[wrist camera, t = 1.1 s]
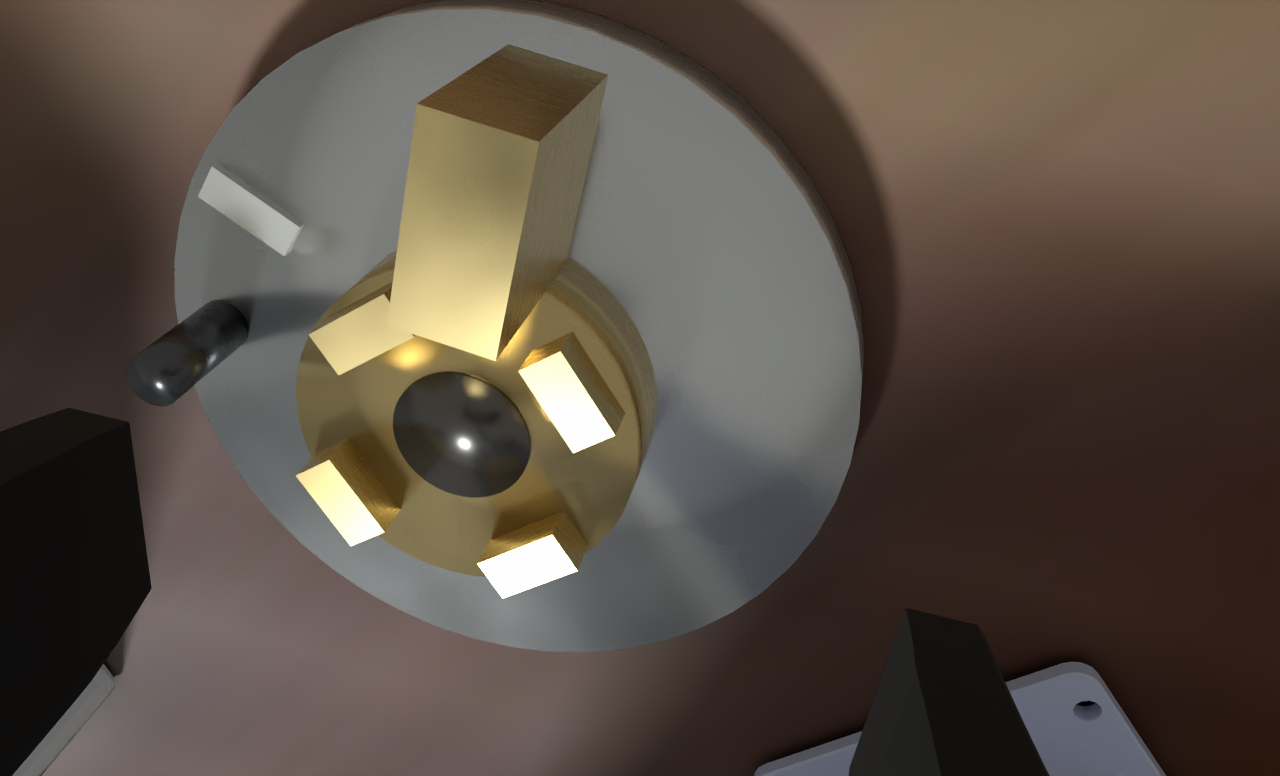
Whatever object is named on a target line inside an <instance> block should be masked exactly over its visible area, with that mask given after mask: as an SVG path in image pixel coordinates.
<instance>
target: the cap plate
mask: <svg viewBox="0 0 1280 776" xmlns="http://www.w3.org/2000/svg"><path fill="white" fill-rule="evenodd" d="M508 44H510V45H513V46H517V47H520V48H523V49H526V50H530V51H533V52H536V53H539V54H543V55H546V56H549V57H552V58H556V59H559V60H562V61H566V62H569V63H572V64H575V65H579V66H582V67H585V68H588V69H592V70H595V71H598V72H601V73H605V74H608V79H607V84H606V88H605V93H604V97H603V102H602V106H601V110H600V115H599V119H598V124H597V128H596V133H595V137H594V141H593V146H592V150H591V155H590V159H589V164H588V168H587V173H586V177H585V181H584V186H583V190H582V195H581V199H580V204H579V208H578V212H577V217H576V221H575V226H574V230H573V235H572V239H571V244H570V248H569V252H568V257H567V258H568V259H570V260H572V261H573V262H575V263H576V264H578V265H579V266H580V267H582V268H583V269H584V270H586V271H587V272H588V273H590V274H591V275H592V276H594V277H595V278H596V279H597V280H598V281H599V282H600V283H601V284H602V285H603V286H604V287H605V288H606V289H607V290H609V291H610V292H611V294H612V295H613V296H614V297H615V298H616V300H617V301H618V302H619V303H620V304H621V306H622V307H623V308H624V309H625V311H626V312H627V314H628V315H629V317H630V318H631V320H632V321H633V323H634V324H635V326H636V328H637V329H638V331H639V333H640V335H641V338H642V340H643V342H644V344H645V346H646V348H647V351H648V354H649V357H650V360H651V363H652V366H653V370H654V375H655V381H656V386H657V405H658V409H657V417H656V426H655V430H654V434H653V438H652V441H651V445H650V447H649V450H648V452H647V455H646V457H645V460H644V463H643V465H642V468H641V470H640V473H639V475H638V478H637V480H636V483H635V486H634V488H633V491H632V493H631V496H630V498H629V500H628V503H627V505H626V507H625V509H624V511H623V514H622V515H621V517H620V518H619V520H618V521H617V523H616V524H615V526H614V527H613V529H612V530H611V531H610V532H609V533H608V534H607V535H606V537H605V538H604V539H603V540H602V541H601V542H600V543H599V544H598V545H596V546H595V547H594V548H592V549H591V550H590V551H589V552H587V553H586V554H585V555H584V557H583V560H582V562H581V564H580V567H579V569H578V571H576V572H574V573H571V574H568V575H565V576H563V577H560V578H557V579H554V580H552V581H549V582H546V583H543V584H541V585H538V586H535V587H533V588H530V589H527V590H524V591H522V592H519V593H516V594H513V595H511V596H508V597H505V598H502V597H501V595H500V594H499V593H498V591H497V590H496V589H495V587H494V586H493V585H492V583H491V582H490V580H489V579H488V578H487V577H480V576H471V575H467V574H462V573H457V572H453V571H449V570H446V569H443V568H440V567H437V566H434V565H431V564H428V563H426V562H424V561H421V560H419V559H417V558H414V557H412V556H410V555H408V554H406V553H405V552H403V551H401V550H399V549H397V548H396V547H394V546H392V545H391V544H389V543H388V542H386V541H385V540H383V539H382V538H380V537H379V536H375V537H372V538H370V539H368V540H365V541H363V542H360V543H358V544H356V545H353V546H350V545H349V544H348V542H347V541H346V540H345V538H344V537H343V536H342V535H341V533H340V532H339V531H338V530H337V528H336V527H335V526H334V524H333V523H332V522H331V521H330V519H329V518H328V517H327V515H326V514H325V513H324V512H323V510H322V509H321V508H320V506H319V505H318V504H317V503H316V501H315V500H314V499H313V497H312V496H311V495H310V494H309V492H308V491H307V490H306V489H305V487H304V486H303V485H302V483H301V482H300V481H299V480H298V478H297V477H296V474H297V473H298V472H299V471H300V470H301V469H302V468H303V467H304V465H305V464H306V463H307V462H308V461H309V460H310V459H311V458H312V457H311V455H310V453H309V451H308V448H307V445H306V442H305V439H304V436H303V434H302V430H301V426H300V421H299V417H298V412H297V400H296V383H297V371H298V367H299V362H300V358H301V354H302V351H303V349H304V346H305V344H306V341H307V339H308V336H309V334H310V333H311V331H312V330H313V328H314V326H315V325H316V323H317V321H318V320H319V319H320V318H321V316H322V315H323V314H324V313H325V312H326V311H327V309H328V308H329V307H330V306H331V305H332V304H333V303H334V302H335V301H337V300H338V299H339V298H340V297H341V296H342V295H343V294H344V293H345V292H347V291H348V290H349V289H350V288H351V287H352V286H353V285H354V284H355V283H356V282H358V281H359V280H360V279H361V278H362V277H363V276H364V275H365V274H366V273H368V272H369V271H370V270H371V269H372V268H373V267H374V266H375V265H377V264H378V263H379V262H380V261H381V260H383V259H384V258H385V257H386V256H387V255H389V254H390V253H392V252H393V251H395V250H397V246H398V239H399V232H400V224H401V217H402V209H403V202H404V194H405V187H406V180H407V172H408V165H409V157H410V150H411V142H412V135H413V128H414V120H415V113H416V105H417V103H418V102H420V101H422V100H423V99H425V98H426V97H428V96H429V95H431V94H432V93H434V92H435V91H437V90H438V89H440V88H442V87H443V86H445V85H446V84H448V83H449V82H451V81H452V80H454V79H455V78H457V77H458V76H460V75H462V74H463V73H465V72H466V71H468V70H469V69H471V68H472V67H474V66H475V65H477V64H478V63H480V62H481V61H483V60H485V59H486V58H488V57H489V56H491V55H492V54H494V53H495V52H497V51H498V50H500V49H501V48H503V47H505V46H506V45H508ZM174 265H175V305H176V312H177V319H178V325H177V326H175V327H174V328H173V329H171V330H170V331H169V332H167V333H166V334H164V335H163V336H162V337H160V338H159V339H158V340H156V341H155V342H154V343H152V344H151V345H150V346H148V347H147V348H146V349H144V350H143V351H141V352H140V353H139V354H137V355H136V356H135V357H133V358H132V359H131V360H130V361H129V362H128V364H127V368H126V376H127V380H128V382H129V385H130V386H131V388H132V389H133V391H134V392H135V393H136V394H137V395H138V396H139V397H140V398H141V399H143V400H144V401H146V402H148V403H150V404H153V405H156V406H167V405H170V404H172V403H174V402H175V401H176V400H177V399H178V398H180V397H181V396H182V395H183V394H184V393H185V392H187V391H188V390H189V389H190V388H191V387H193V386H194V387H195V390H196V392H197V395H198V397H199V400H200V402H201V405H202V407H203V410H204V412H205V415H206V417H207V419H208V420H209V422H210V424H211V426H212V428H213V430H214V432H215V434H216V435H217V437H218V439H219V441H220V443H221V445H222V447H223V449H224V450H225V452H226V453H227V455H228V456H229V458H230V459H231V461H232V462H233V464H234V465H235V467H236V468H237V470H238V471H239V473H240V474H241V476H242V477H243V479H244V480H245V482H246V483H247V484H248V486H249V487H250V488H251V489H252V491H253V492H254V493H255V494H256V495H257V497H258V498H259V499H260V500H261V501H262V503H263V504H264V505H265V506H266V507H267V509H268V510H269V511H270V512H271V513H272V515H273V516H274V517H275V518H276V519H277V520H278V521H279V522H280V523H281V524H282V525H283V526H284V527H285V528H286V529H287V530H288V531H289V532H290V533H291V534H292V535H293V536H294V537H295V538H296V539H297V540H298V541H299V542H300V543H302V544H303V545H304V546H305V547H306V548H308V549H309V550H310V551H311V552H312V553H314V554H315V555H316V556H317V557H319V558H320V559H321V560H322V561H323V562H325V563H326V564H327V565H328V566H330V567H331V568H332V569H333V570H335V571H336V572H338V573H339V574H341V575H342V576H344V577H345V578H347V579H348V580H350V581H351V582H353V583H354V584H355V585H357V586H358V587H360V588H361V589H363V590H364V591H366V592H368V593H369V594H371V595H373V596H375V597H377V598H379V599H380V600H382V601H384V602H386V603H388V604H389V605H391V606H393V607H395V608H397V609H399V610H400V611H403V612H405V613H407V614H410V615H412V616H414V617H416V618H419V619H421V620H423V621H426V622H428V623H430V624H433V625H435V626H437V627H440V628H443V629H446V630H449V631H453V632H456V633H459V634H462V635H465V636H468V637H471V638H474V639H478V640H483V641H487V642H492V643H496V644H501V645H505V646H510V647H516V648H524V649H532V650H541V651H549V652H598V651H608V650H619V649H628V648H633V647H638V646H642V645H647V644H652V643H656V642H661V641H665V640H668V639H671V638H674V637H677V636H680V635H683V634H686V633H688V632H691V631H694V630H697V629H700V628H702V627H704V626H706V625H708V624H710V623H712V622H714V621H716V620H718V619H720V618H722V617H724V616H726V615H728V614H730V613H732V612H734V611H735V610H737V609H738V608H740V607H741V606H743V605H744V604H746V603H747V602H749V601H750V600H752V599H753V598H755V597H756V596H757V595H759V594H760V593H762V592H763V591H765V590H766V589H767V588H768V587H769V586H770V585H771V584H772V583H773V582H774V581H776V580H777V579H778V578H779V577H780V576H781V575H782V574H783V573H784V572H785V571H787V570H788V569H789V568H790V567H791V566H792V565H793V564H794V562H795V561H796V560H797V559H798V557H799V556H800V555H801V554H802V553H803V551H804V550H805V549H806V548H807V546H808V545H809V544H810V543H811V541H812V540H813V539H814V538H815V537H816V535H817V533H818V532H819V530H820V528H821V526H822V525H823V523H824V521H825V520H826V518H827V516H828V514H829V513H830V511H831V509H832V508H833V506H834V504H835V502H836V500H837V497H838V495H839V492H840V490H841V487H842V485H843V482H844V479H845V477H846V474H847V472H848V469H849V467H850V463H851V459H852V454H853V450H854V445H855V441H856V436H857V432H858V427H859V419H860V406H861V393H862V378H863V362H864V341H863V329H862V317H861V306H860V302H859V298H858V293H857V289H856V285H855V281H854V276H853V272H852V268H851V264H850V261H849V258H848V255H847V253H846V250H845V248H844V245H843V243H842V240H841V237H840V235H839V232H838V230H837V227H836V225H835V222H834V219H833V217H832V216H831V214H830V212H829V210H828V208H827V207H826V205H825V203H824V201H823V199H822V198H821V196H820V194H819V192H818V190H817V189H816V187H815V185H814V183H813V181H812V180H811V178H810V176H809V175H808V173H807V172H806V171H805V169H804V168H803V167H802V165H801V164H800V163H799V161H798V160H797V159H796V157H795V156H794V155H793V153H792V152H791V150H790V149H789V148H788V146H787V145H786V144H785V142H784V141H783V140H782V138H781V137H780V136H779V135H778V134H777V133H776V131H775V130H774V129H773V128H772V127H771V126H770V125H769V124H768V123H767V122H766V121H765V120H764V119H763V118H762V117H761V116H760V115H759V114H758V113H757V112H756V111H755V110H754V109H753V108H752V107H751V106H750V105H749V104H748V103H747V102H746V101H745V100H744V99H743V98H742V97H741V96H740V95H738V94H737V93H736V92H735V91H733V90H732V89H731V88H729V87H728V86H727V85H726V84H724V83H723V82H722V81H721V80H719V79H718V78H717V77H716V76H714V75H713V74H712V73H710V72H709V71H708V70H707V69H705V68H704V67H703V66H702V65H700V64H698V63H696V62H695V61H693V60H691V59H690V58H688V57H686V56H685V55H683V54H681V53H680V52H678V51H676V50H675V49H673V48H671V47H670V46H668V45H666V44H665V43H663V42H661V41H660V40H658V39H656V38H654V37H651V36H649V35H647V34H645V33H642V32H640V31H638V30H635V29H633V28H631V27H628V26H626V25H624V24H621V23H619V22H617V21H614V20H612V19H610V18H607V17H603V16H600V15H596V14H592V13H589V12H585V11H582V10H578V9H574V8H571V7H567V6H564V5H560V4H555V3H547V2H540V1H532V0H442V1H435V2H429V3H423V4H416V5H411V6H408V7H405V8H402V9H399V10H396V11H393V12H389V13H386V14H383V15H380V16H377V17H374V18H371V19H368V20H366V21H363V22H361V23H359V24H357V25H354V26H352V27H350V28H347V29H345V30H343V31H341V32H338V33H336V34H334V35H332V36H330V37H328V38H326V39H324V40H322V41H320V42H318V43H316V44H315V45H313V46H311V47H309V48H307V49H305V50H303V51H301V52H299V53H297V54H296V55H294V56H293V57H291V58H290V59H289V60H287V61H286V62H285V63H283V64H282V65H281V66H279V67H278V68H276V69H275V70H274V71H272V72H271V73H270V74H268V75H267V76H266V77H264V78H263V79H262V80H261V81H260V82H259V83H258V84H257V85H256V86H255V87H254V88H253V89H252V90H251V91H250V92H249V93H248V94H247V95H246V96H245V97H244V98H243V99H242V100H241V101H240V102H239V103H238V104H237V105H236V106H235V107H234V108H233V109H232V111H231V112H230V114H229V115H228V116H227V118H226V119H225V121H224V122H223V124H222V125H221V127H220V128H219V129H218V131H217V132H216V134H215V135H214V137H213V138H212V140H211V141H210V142H209V144H208V146H207V148H206V150H205V152H204V155H203V157H202V159H201V161H200V163H199V165H198V167H197V169H196V171H195V174H194V176H193V178H192V180H191V183H190V186H189V190H188V193H187V197H186V200H185V203H184V207H183V210H182V214H181V217H180V222H179V229H178V237H177V244H176V251H175V259H174Z"/></svg>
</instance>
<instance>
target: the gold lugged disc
mask: <svg viewBox="0 0 1280 776" xmlns="http://www.w3.org/2000/svg"><path fill="white" fill-rule="evenodd" d="M607 79H608V74H605V73H601V72H598V71H595V70H592V69H588V68H585V67H582V66H579V65H575V64H572V63H569V62H566V61H562V60H559V59H556V58H552V57H549V56H546V55H543V54H539V53H536V52H533V51H530V50H526V49H523V48H520V47H517V46H513V45H510V44H508V45H506V46H505V47H503V48H501V49H500V50H498V51H497V52H495V53H494V54H492V55H491V56H489V57H488V58H486V59H485V60H483V61H481V62H480V63H478V64H477V65H475V66H474V67H472V68H471V69H469V70H468V71H466V72H465V73H463V74H462V75H460V76H458V77H457V78H455V79H454V80H452V81H451V82H449V83H448V84H446V85H445V86H443V87H442V88H440V89H438V90H437V91H435V92H434V93H432V94H431V95H429V96H428V97H426V98H425V99H423V100H422V101H420V102H418V103H417V105H416V113H415V120H414V128H413V135H412V142H411V150H410V157H409V165H408V172H407V180H406V187H405V194H404V202H403V209H402V217H401V224H400V232H399V239H398V246H397V250H395V251H393V252H392V253H390V254H389V255H387V256H386V257H385V258H384V259H383V260H381V261H380V262H379V263H378V264H377V265H375V266H374V267H373V268H372V269H371V270H370V271H369V272H368V273H366V274H365V275H364V276H363V277H362V278H361V279H360V280H359V281H358V282H356V283H355V284H354V285H353V286H352V287H351V288H350V289H349V290H348V291H347V292H345V293H344V294H343V295H342V296H341V297H340V298H339V299H338V300H337V301H335V302H334V303H333V304H332V305H331V306H330V307H329V308H328V309H327V311H326V312H325V313H324V314H323V315H322V316H321V318H320V319H319V320H318V321H317V323H316V325H315V326H314V328H313V330H312V331H311V333H310V334H309V336H308V339H307V341H306V344H305V346H304V349H303V351H302V354H301V358H300V362H299V367H298V371H297V383H296V400H297V412H298V417H299V421H300V426H301V430H302V434H303V436H304V439H305V442H306V445H307V448H308V451H309V453H310V455H311V457H312V458H311V459H310V460H309V461H308V462H307V463H306V464H305V465H304V467H303V468H302V469H301V470H300V471H299V472H298V473H297V474H296V477H297V478H298V480H299V481H300V482H301V483H302V485H303V486H304V487H305V489H306V490H307V491H308V492H309V494H310V495H311V496H312V497H313V499H314V500H315V501H316V503H317V504H318V505H319V506H320V508H321V509H322V510H323V512H324V513H325V514H326V515H327V517H328V518H329V519H330V521H331V522H332V523H333V524H334V526H335V527H336V528H337V530H338V531H339V532H340V533H341V535H342V536H343V537H344V538H345V540H346V541H347V542H348V544H349V545H350V546H353V545H356V544H358V543H360V542H363V541H365V540H368V539H370V538H372V537H375V536H379V537H380V538H382V539H383V540H385V541H386V542H388V543H389V544H391V545H392V546H394V547H396V548H397V549H399V550H401V551H403V552H405V553H406V554H408V555H410V556H412V557H414V558H417V559H419V560H421V561H424V562H426V563H428V564H431V565H434V566H437V567H440V568H443V569H446V570H449V571H453V572H457V573H462V574H467V575H471V576H480V577H487V578H488V579H489V580H490V582H491V583H492V585H493V586H494V587H495V589H496V590H497V591H498V593H499V594H500V595H501V597H502V598H505V597H508V596H511V595H513V594H516V593H519V592H522V591H524V590H527V589H530V588H533V587H535V586H538V585H541V584H543V583H546V582H549V581H552V580H554V579H557V578H560V577H563V576H565V575H568V574H571V573H574V572H576V571H578V569H579V567H580V564H581V562H582V560H583V557H584V555H585V554H586V553H587V552H589V551H590V550H591V549H592V548H594V547H595V546H596V545H598V544H599V543H600V542H601V541H602V540H603V539H604V538H605V537H606V535H607V534H608V533H609V532H610V531H611V530H612V529H613V527H614V526H615V524H616V523H617V521H618V520H619V518H620V517H621V515H622V514H623V511H624V509H625V507H626V505H627V503H628V500H629V498H630V496H631V493H632V491H633V488H634V486H635V483H636V480H637V478H638V475H639V473H640V470H641V468H642V465H643V463H644V460H645V457H646V455H647V452H648V450H649V447H650V445H651V441H652V438H653V434H654V430H655V426H656V417H657V409H658V405H657V386H656V381H655V375H654V370H653V366H652V363H651V360H650V357H649V354H648V351H647V348H646V346H645V344H644V342H643V340H642V338H641V335H640V333H639V331H638V329H637V328H636V326H635V324H634V323H633V321H632V320H631V318H630V317H629V315H628V314H627V312H626V311H625V309H624V308H623V307H622V306H621V304H620V303H619V302H618V301H617V300H616V298H615V297H614V296H613V295H612V294H611V292H610V291H609V290H607V289H606V288H605V287H604V286H603V285H602V284H601V283H600V282H599V281H598V280H597V279H596V278H595V277H594V276H592V275H591V274H590V273H588V272H587V271H586V270H584V269H583V268H582V267H580V266H579V265H578V264H576V263H575V262H573V261H572V260H570V259H568V258H567V257H568V252H569V248H570V244H571V239H572V235H573V230H574V226H575V221H576V217H577V212H578V208H579V204H580V199H581V195H582V190H583V186H584V181H585V177H586V173H587V168H588V164H589V159H590V155H591V150H592V146H593V141H594V137H595V133H596V128H597V124H598V119H599V115H600V110H601V106H602V102H603V97H604V93H605V88H606V84H607Z"/></svg>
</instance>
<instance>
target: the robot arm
mask: <svg viewBox="0 0 1280 776" xmlns="http://www.w3.org/2000/svg"><path fill="white" fill-rule="evenodd" d="M150 590H151V582H150V574H149V567H148V560H147V552H146V545H145V537H144V530H143V522H142V515H141V507H140V500H139V492H138V485H137V477H136V470H135V462H134V455H133V448H132V440H131V433H130V425H129V422H126V421H121V420H117V419H113V418H109V417H105V416H101V415H96V414H92V413H88V412H84V411H80V410H75V409H71V408H67V409H64V410H61V411H58V412H55V413H52V414H49V415H45V416H42V417H39V418H37V419H34V420H31V421H28V422H25V423H23V424H20V425H17V426H15V427H12V428H9V429H7V430H4V431H1V432H0V776H12V775H13V774H14V773H15V772H16V771H17V769H18V768H19V767H20V766H21V765H22V764H23V762H24V761H25V760H26V759H27V758H28V757H29V755H30V754H31V753H32V752H33V751H34V750H35V748H36V747H37V746H38V745H39V744H40V742H41V741H42V740H43V739H44V738H45V736H46V735H47V734H48V733H49V732H50V731H51V729H52V728H53V727H54V726H55V725H56V723H57V722H58V721H59V720H60V719H61V717H62V716H63V715H64V714H65V713H66V711H67V710H68V709H69V708H70V707H71V706H72V704H73V703H74V702H75V701H76V699H77V698H78V697H79V696H80V695H81V693H82V692H83V691H84V690H85V688H86V687H87V686H88V685H89V684H90V682H91V681H92V680H93V678H94V677H95V675H96V674H97V672H98V671H99V669H100V668H101V666H102V665H103V663H104V662H105V661H106V659H107V658H108V656H109V655H110V653H111V652H112V650H113V649H114V647H115V646H116V644H117V643H118V641H119V640H120V638H121V637H122V635H123V633H124V632H125V630H126V629H127V627H128V625H129V624H130V622H131V621H132V619H133V617H134V616H135V614H136V612H137V611H138V609H139V608H140V606H141V604H142V603H143V601H144V600H145V598H146V596H147V595H148V593H149V592H150ZM1081 701H1092V702H1096V703H1095V704H1093V705H1091V706H1080V705H1077V704H1078V703H1079V702H1081ZM754 776H1166V775H1165V773H1164V772H1163V770H1162V769H1161V767H1160V766H1159V764H1158V763H1157V761H1156V760H1155V758H1154V757H1153V755H1152V754H1151V752H1150V751H1149V749H1148V748H1147V746H1146V745H1145V743H1144V742H1143V740H1142V739H1141V737H1140V736H1139V734H1138V733H1137V731H1136V730H1135V728H1134V727H1133V725H1132V724H1131V722H1130V721H1129V719H1128V717H1127V716H1126V714H1125V713H1124V711H1123V710H1122V708H1121V707H1120V705H1119V704H1118V702H1117V701H1116V699H1115V698H1114V696H1113V695H1112V693H1111V692H1110V690H1109V689H1108V687H1107V686H1106V684H1105V683H1104V681H1103V680H1102V678H1101V677H1100V675H1099V674H1098V672H1097V671H1096V670H1095V669H1094V668H1092V667H1091V666H1089V665H1087V664H1084V663H1081V662H1066V663H1061V664H1058V665H1055V666H1052V667H1049V668H1047V669H1044V670H1041V671H1038V672H1035V673H1032V674H1029V675H1026V676H1023V677H1020V678H1017V679H1014V680H1011V681H1008V682H1005V680H1004V678H1003V676H1002V674H1001V671H1000V669H999V667H998V665H997V662H996V660H995V658H994V656H993V653H992V651H991V649H990V647H989V644H988V642H987V640H986V638H985V636H984V635H983V633H982V631H981V630H980V628H979V627H978V625H974V624H970V623H966V622H962V621H958V620H953V619H949V618H945V617H941V616H937V615H932V614H928V613H924V612H920V611H916V610H912V609H907V608H906V610H905V612H904V615H903V618H902V621H901V624H900V627H899V629H898V632H897V635H896V638H895V641H894V643H893V646H892V649H891V652H890V655H889V657H888V660H887V663H886V666H885V669H884V672H883V674H882V677H881V680H880V683H879V686H878V688H877V691H876V694H875V697H874V700H873V702H872V705H871V708H870V711H869V714H868V717H867V719H866V722H865V725H864V728H863V731H861V732H858V733H855V734H852V735H849V736H846V737H843V738H840V739H837V740H834V741H831V742H828V743H825V744H822V745H819V746H816V747H813V748H810V749H808V750H805V751H802V752H799V753H796V754H793V755H790V756H787V757H784V758H781V759H778V760H775V761H772V762H769V763H766V764H764V765H762V766H760V767H758V769H757V770H756V772H755V775H754Z"/></svg>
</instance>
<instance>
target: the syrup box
mask: <svg viewBox="0 0 1280 776" xmlns="http://www.w3.org/2000/svg"><path fill="white" fill-rule="evenodd" d="M114 687H115V680H114V678H113V676H112V674H111V673H110V671H109V670H108V669H107V667H106V666H105V665H104V664H103V665H102V666H101V668H100V669H99V671H98V672H97V674H96V675H95V677H94V678H93V680H92V681H91V682H90V684H89V685H88V686H87V687H86V688H85V690H84V691H83V692H82V693H81V695H80V696H79V697H78V698H77V699H76V701H75V702H74V703H73V704H72V706H71V707H70V708H69V709H68V710H67V711H66V713H65V714H64V715H63V716H62V717H61V719H60V720H59V721H58V722H57V723H56V725H55V726H54V727H53V728H52V729H51V731H50V732H49V733H48V734H47V735H46V736H45V738H44V739H43V740H42V741H41V742H40V744H39V745H38V746H37V747H36V748H35V750H34V751H33V752H32V753H31V754H30V755H29V757H28V758H27V759H26V760H25V761H24V762H23V764H22V765H21V766H20V767H19V768H18V769H17V771H16V772H15V773H14V774H13V775H12V776H41V775H42V774H43V773H44V772H45V771H46V769H47V768H48V767H49V766H50V764H51V763H52V762H53V761H54V760H55V759H56V757H57V756H58V755H59V754H60V752H61V751H62V750H63V749H64V748H65V747H66V746H67V744H68V743H69V742H70V741H71V740H72V739H73V737H74V736H75V735H76V734H77V733H78V731H79V730H80V729H81V728H82V727H83V725H84V724H85V723H86V722H87V721H88V720H89V718H90V717H91V716H92V715H93V714H94V713H95V711H96V710H97V709H98V708H99V707H100V705H101V704H102V703H103V702H104V701H105V699H106V698H107V697H108V696H109V695H110V693H111V692H112V690H113V689H114Z"/></svg>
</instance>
